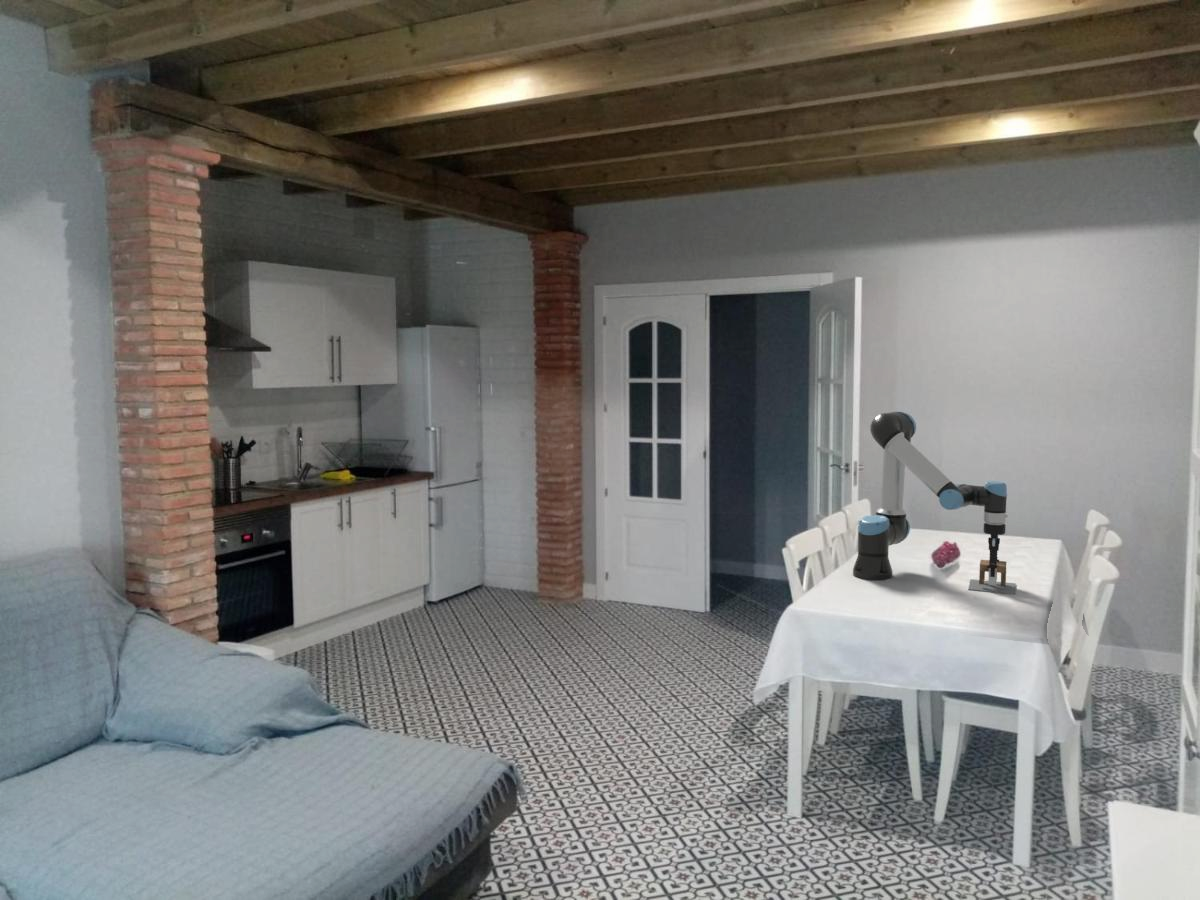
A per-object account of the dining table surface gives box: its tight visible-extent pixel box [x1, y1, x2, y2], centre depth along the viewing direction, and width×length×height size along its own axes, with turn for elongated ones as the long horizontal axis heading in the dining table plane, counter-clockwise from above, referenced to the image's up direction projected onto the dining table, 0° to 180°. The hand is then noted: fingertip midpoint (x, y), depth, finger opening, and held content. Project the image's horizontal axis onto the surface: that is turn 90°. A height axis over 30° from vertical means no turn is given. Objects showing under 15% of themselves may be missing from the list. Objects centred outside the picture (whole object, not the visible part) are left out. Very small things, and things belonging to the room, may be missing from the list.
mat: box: [968, 579, 1017, 595], centre depth 345 cm, size 16×16×1 cm
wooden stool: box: [978, 559, 1007, 586], centre depth 345 cm, size 9×9×8 cm
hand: (992, 581), depth 345 cm, fingers closed on wooden stool, 9 cm apart
